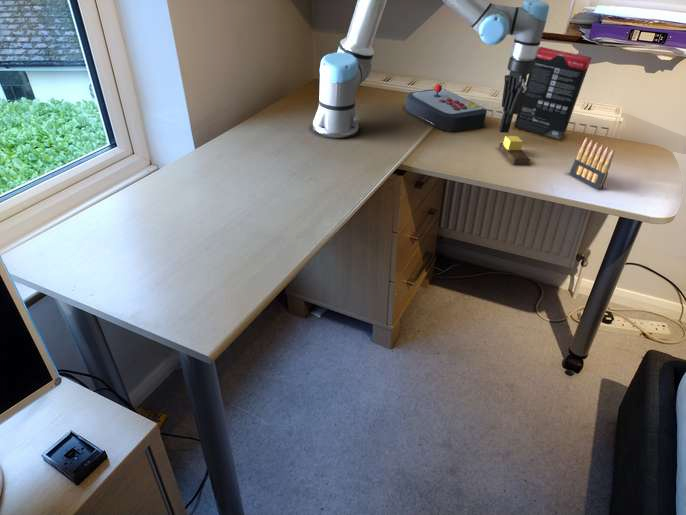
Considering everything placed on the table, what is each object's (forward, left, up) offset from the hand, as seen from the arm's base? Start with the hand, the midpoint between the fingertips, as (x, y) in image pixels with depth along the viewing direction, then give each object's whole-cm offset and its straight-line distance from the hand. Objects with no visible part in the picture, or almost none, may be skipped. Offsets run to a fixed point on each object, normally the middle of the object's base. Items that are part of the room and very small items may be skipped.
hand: (503, 131), depth 167 cm
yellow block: (+8, 0, -2) cm, 8 cm away
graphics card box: (-10, +18, -4) cm, 21 cm away
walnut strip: (+10, 0, -4) cm, 11 cm away
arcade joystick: (-24, -14, -4) cm, 27 cm away
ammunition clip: (+27, +15, -4) cm, 32 cm away
